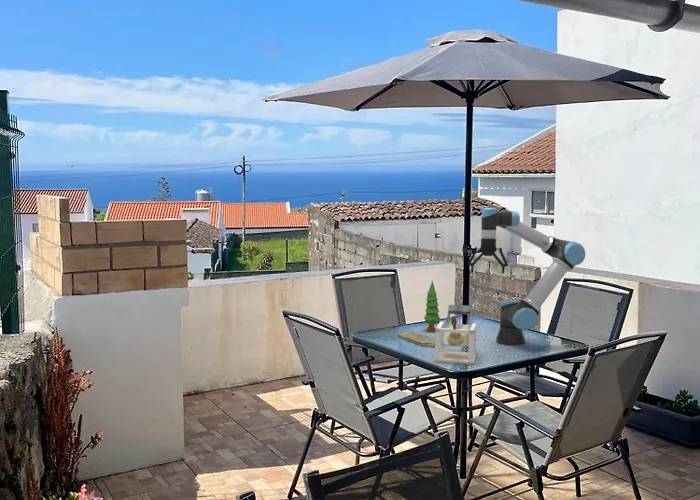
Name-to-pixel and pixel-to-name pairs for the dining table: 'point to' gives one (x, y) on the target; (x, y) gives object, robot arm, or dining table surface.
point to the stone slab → (418, 339)
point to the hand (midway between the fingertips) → (487, 279)
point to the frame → (453, 355)
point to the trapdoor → (457, 310)
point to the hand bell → (455, 334)
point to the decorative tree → (432, 309)
